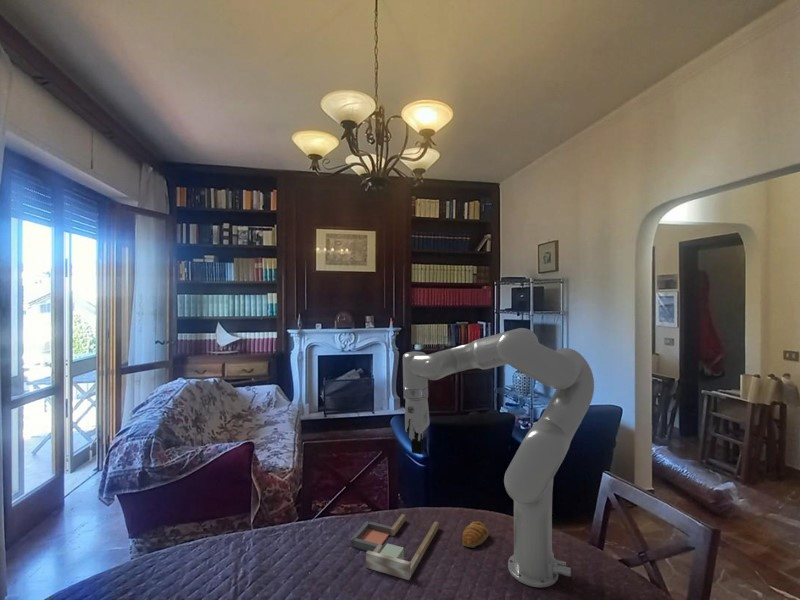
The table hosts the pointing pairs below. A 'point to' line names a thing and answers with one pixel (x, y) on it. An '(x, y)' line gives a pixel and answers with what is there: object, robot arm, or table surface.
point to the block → (393, 551)
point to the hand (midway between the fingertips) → (417, 452)
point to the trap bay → (370, 536)
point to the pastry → (474, 534)
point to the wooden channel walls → (394, 564)
